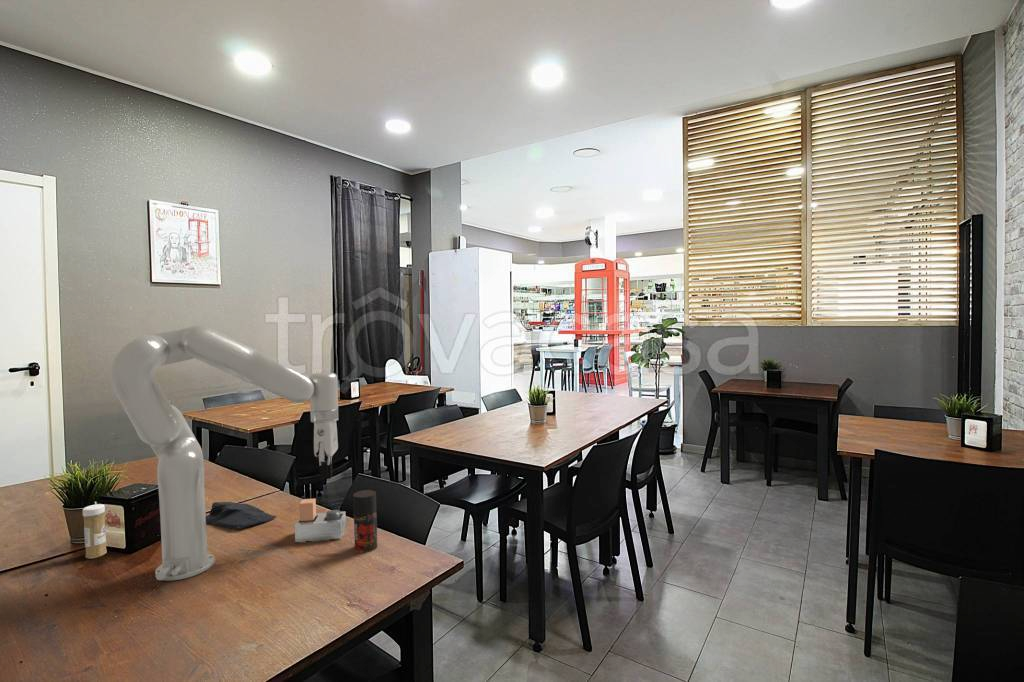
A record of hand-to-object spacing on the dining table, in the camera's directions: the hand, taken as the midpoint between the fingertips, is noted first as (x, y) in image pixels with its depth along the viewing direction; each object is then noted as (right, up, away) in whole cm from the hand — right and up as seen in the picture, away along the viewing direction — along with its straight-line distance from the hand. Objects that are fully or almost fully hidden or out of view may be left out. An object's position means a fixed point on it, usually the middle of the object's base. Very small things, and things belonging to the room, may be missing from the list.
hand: (325, 477), depth 144 cm
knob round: (+2, -15, +1) cm, 15 cm away
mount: (-2, -17, 0) cm, 17 cm away
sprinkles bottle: (-59, -18, -10) cm, 62 cm away
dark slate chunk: (-33, -18, +14) cm, 40 cm away
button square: (-5, -12, 0) cm, 13 cm away
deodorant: (+14, -17, -8) cm, 24 cm away
